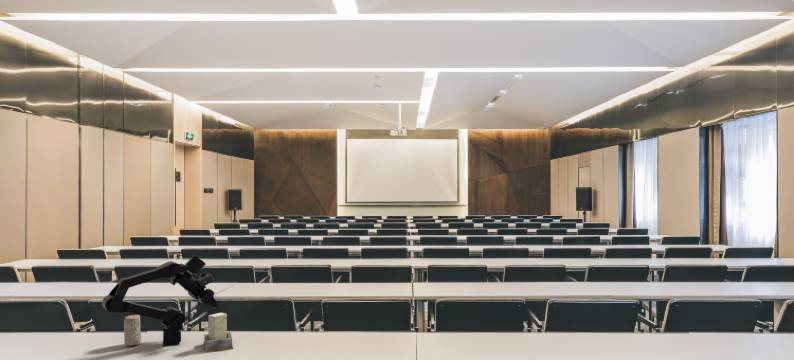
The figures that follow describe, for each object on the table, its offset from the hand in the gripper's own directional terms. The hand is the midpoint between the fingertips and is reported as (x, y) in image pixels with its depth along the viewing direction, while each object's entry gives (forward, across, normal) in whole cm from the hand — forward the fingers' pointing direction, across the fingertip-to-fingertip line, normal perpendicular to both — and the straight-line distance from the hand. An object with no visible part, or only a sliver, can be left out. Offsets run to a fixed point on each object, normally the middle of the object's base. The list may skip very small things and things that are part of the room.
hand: (214, 304), depth 229 cm
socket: (+7, -16, +12) cm, 21 cm away
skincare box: (+6, -16, +12) cm, 21 cm away
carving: (-12, +8, +32) cm, 35 cm away
